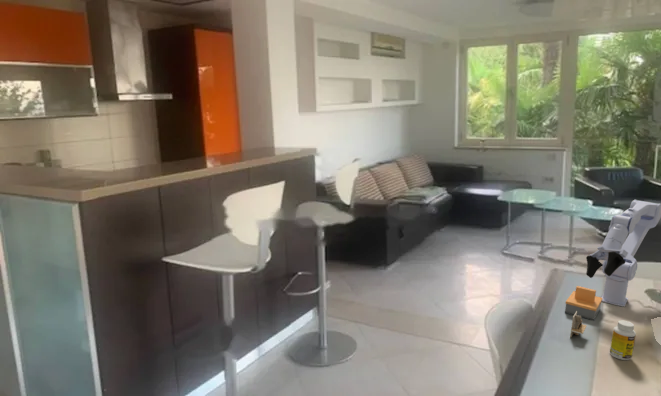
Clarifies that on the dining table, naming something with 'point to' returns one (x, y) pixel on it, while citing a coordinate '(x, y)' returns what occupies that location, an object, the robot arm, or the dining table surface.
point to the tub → (582, 311)
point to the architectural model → (577, 325)
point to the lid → (584, 298)
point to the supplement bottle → (623, 340)
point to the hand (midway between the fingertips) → (597, 275)
